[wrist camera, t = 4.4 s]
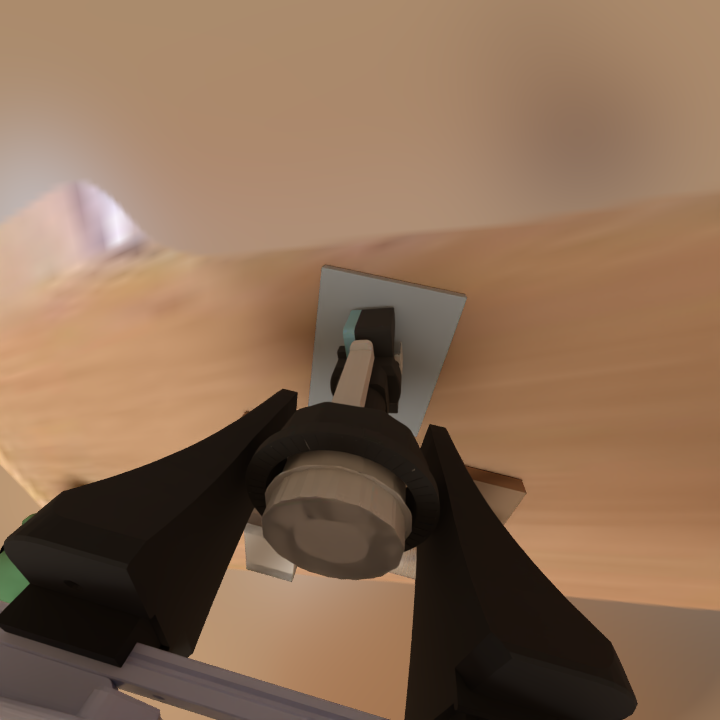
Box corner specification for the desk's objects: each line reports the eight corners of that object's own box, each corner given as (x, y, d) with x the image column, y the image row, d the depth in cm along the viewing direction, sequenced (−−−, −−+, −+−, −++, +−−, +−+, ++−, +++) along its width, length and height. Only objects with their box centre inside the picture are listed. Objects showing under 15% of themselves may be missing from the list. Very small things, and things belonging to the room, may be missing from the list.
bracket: (521, 480, 19) (560, 585, 14) (472, 551, 24) (488, 652, 19) (245, 411, 21) (187, 485, 15) (249, 492, 25) (205, 571, 20)
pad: (465, 294, 14) (466, 298, 14) (416, 430, 19) (416, 436, 18) (324, 264, 15) (321, 267, 14) (310, 404, 19) (307, 410, 19)
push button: (426, 407, 17) (441, 626, 9) (337, 408, 18) (273, 605, 10) (424, 296, 14) (446, 473, 5) (316, 304, 15) (190, 463, 6)
